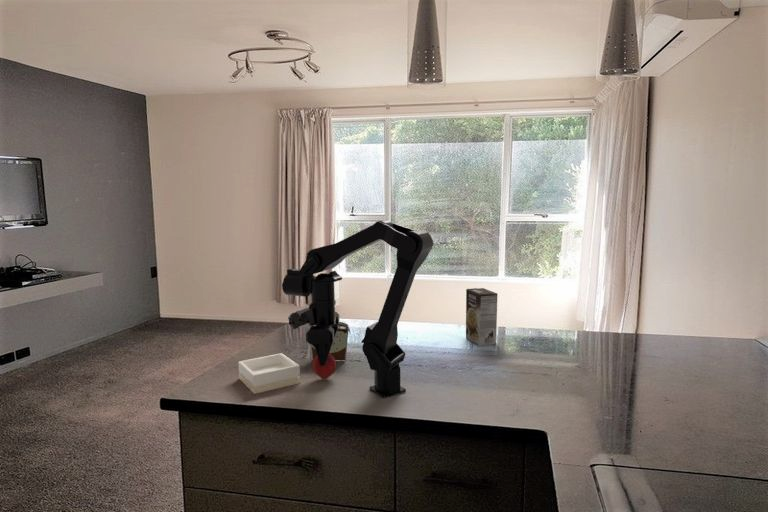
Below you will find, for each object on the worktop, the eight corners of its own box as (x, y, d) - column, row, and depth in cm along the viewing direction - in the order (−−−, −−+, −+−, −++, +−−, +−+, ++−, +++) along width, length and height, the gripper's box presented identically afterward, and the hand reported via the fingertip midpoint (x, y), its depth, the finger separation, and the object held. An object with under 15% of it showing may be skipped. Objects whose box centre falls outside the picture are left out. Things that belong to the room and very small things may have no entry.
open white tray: (300, 383, 120) (299, 365, 120) (254, 393, 114) (253, 375, 114) (282, 369, 130) (281, 353, 130) (239, 378, 124) (238, 361, 123)
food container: (354, 354, 142) (353, 321, 141) (350, 361, 136) (350, 326, 134) (312, 353, 143) (311, 320, 142) (307, 360, 137) (306, 325, 136)
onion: (339, 376, 125) (339, 345, 124) (331, 384, 119) (330, 353, 118) (318, 374, 126) (317, 344, 125) (309, 382, 121) (308, 351, 120)
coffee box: (464, 337, 157) (465, 288, 155) (482, 336, 159) (483, 287, 157) (478, 346, 148) (479, 294, 146) (497, 344, 150) (498, 292, 148)
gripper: (296, 291, 129) (298, 348, 131) (282, 307, 111) (285, 373, 113) (338, 290, 129) (340, 347, 131) (331, 306, 111) (333, 372, 113)
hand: (324, 359), depth 122 cm, fingers open, 9 cm apart
